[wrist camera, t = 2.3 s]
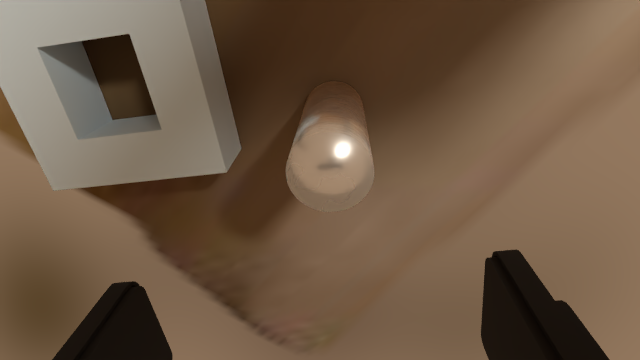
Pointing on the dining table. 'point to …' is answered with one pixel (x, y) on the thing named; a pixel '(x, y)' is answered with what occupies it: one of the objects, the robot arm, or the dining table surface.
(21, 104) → the manifold block
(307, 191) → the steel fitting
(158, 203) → the dining table surface
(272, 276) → the dining table surface
